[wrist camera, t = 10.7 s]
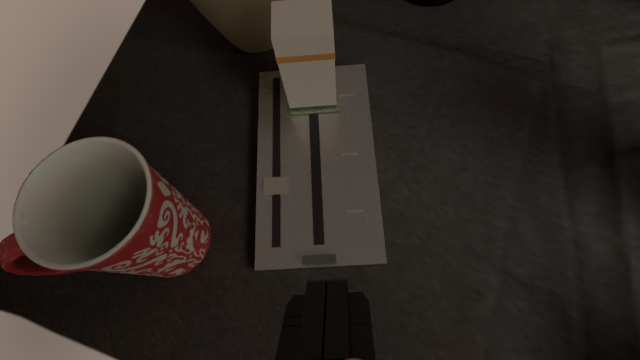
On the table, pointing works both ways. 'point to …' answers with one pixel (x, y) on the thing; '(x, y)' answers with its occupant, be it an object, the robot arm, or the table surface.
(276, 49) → the fader knob
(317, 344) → the robot arm
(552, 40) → the table surface
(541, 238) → the table surface
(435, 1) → the french press
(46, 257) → the mug
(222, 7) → the plant pot
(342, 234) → the console
